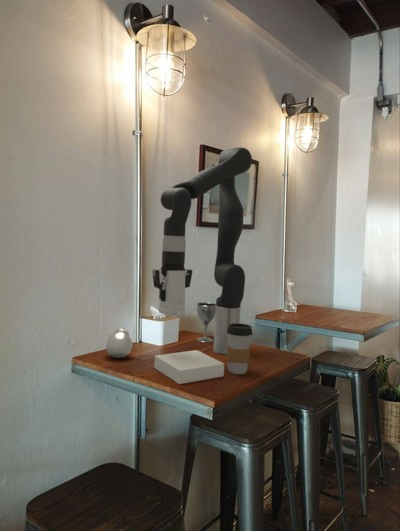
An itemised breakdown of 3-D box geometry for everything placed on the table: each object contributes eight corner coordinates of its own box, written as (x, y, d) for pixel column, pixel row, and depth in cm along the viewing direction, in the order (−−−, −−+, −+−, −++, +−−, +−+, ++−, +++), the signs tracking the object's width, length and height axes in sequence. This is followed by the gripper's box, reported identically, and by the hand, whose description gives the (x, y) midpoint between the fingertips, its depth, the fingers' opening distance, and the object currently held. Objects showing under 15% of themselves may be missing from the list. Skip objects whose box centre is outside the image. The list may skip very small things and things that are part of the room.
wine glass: (191, 339, 174) (193, 303, 173) (203, 336, 180) (205, 301, 179) (206, 343, 169) (208, 306, 168) (218, 340, 175) (220, 304, 174)
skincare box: (185, 316, 138) (187, 270, 137) (168, 317, 135) (170, 271, 134) (173, 311, 145) (174, 268, 144) (157, 312, 142) (159, 268, 141)
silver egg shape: (137, 356, 148) (139, 328, 147) (120, 363, 139) (121, 333, 139) (117, 351, 152) (118, 324, 151) (99, 357, 144) (100, 329, 143)
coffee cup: (224, 366, 142) (226, 322, 140) (249, 367, 141) (251, 323, 140) (224, 374, 133) (227, 328, 132) (251, 376, 133) (254, 329, 132)
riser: (196, 361, 145) (196, 350, 145) (223, 376, 132) (224, 363, 131) (154, 367, 136) (154, 355, 136) (179, 384, 123) (179, 370, 123)
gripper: (187, 249, 145) (184, 297, 146) (148, 248, 137) (146, 299, 139) (198, 250, 139) (196, 301, 140) (159, 250, 131) (156, 303, 133)
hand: (171, 300), depth 139 cm, fingers closed on skincare box, 6 cm apart
